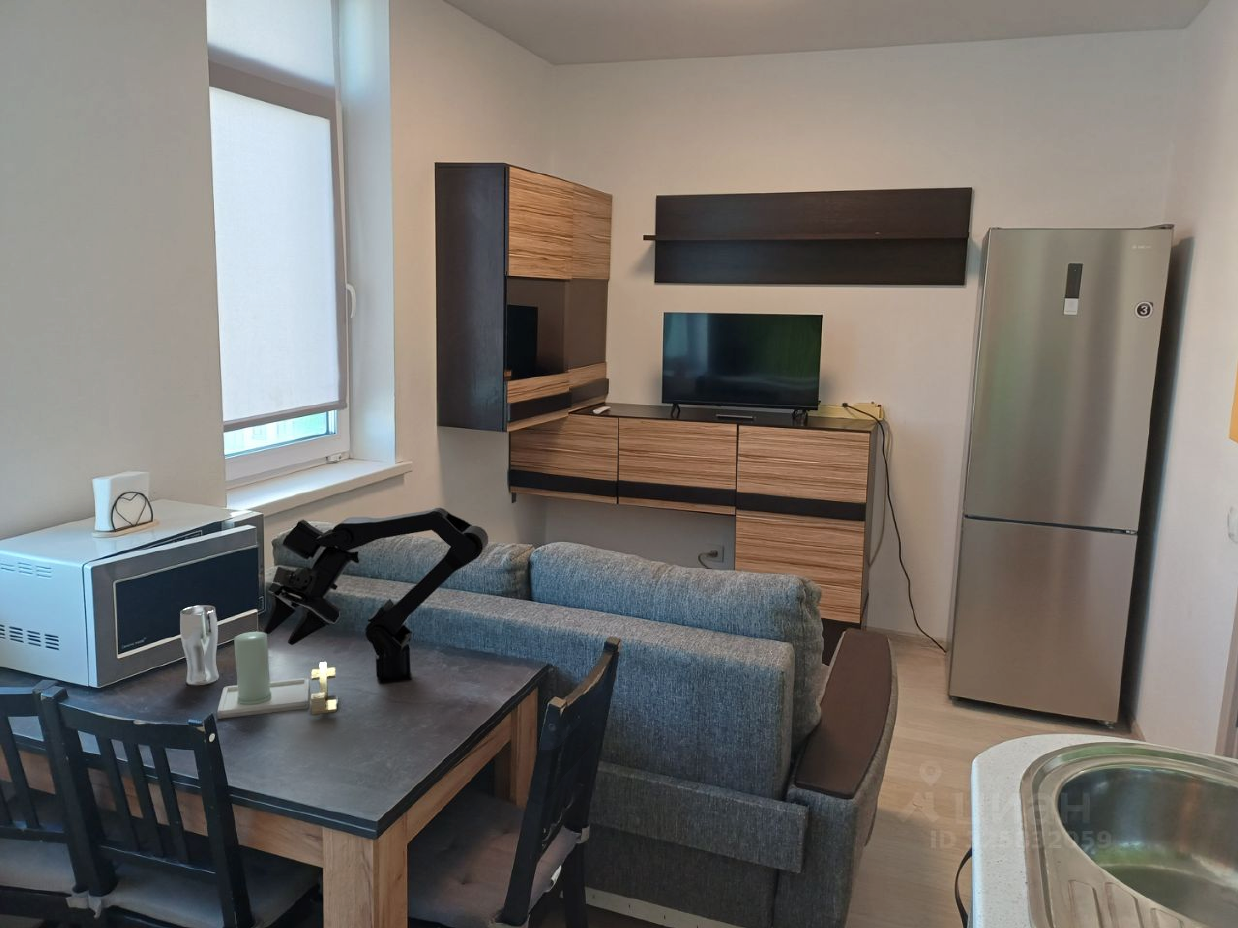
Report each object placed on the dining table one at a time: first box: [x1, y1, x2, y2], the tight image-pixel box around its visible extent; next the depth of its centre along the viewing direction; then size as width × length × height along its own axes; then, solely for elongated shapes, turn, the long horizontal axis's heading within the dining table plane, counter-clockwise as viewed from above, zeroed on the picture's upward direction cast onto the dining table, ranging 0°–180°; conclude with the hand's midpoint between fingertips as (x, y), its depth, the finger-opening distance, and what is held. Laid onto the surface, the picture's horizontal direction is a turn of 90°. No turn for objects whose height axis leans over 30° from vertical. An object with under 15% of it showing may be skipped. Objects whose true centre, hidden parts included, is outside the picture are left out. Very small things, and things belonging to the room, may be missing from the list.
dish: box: [217, 677, 310, 720], centre depth 178 cm, size 16×12×2 cm
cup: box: [234, 631, 272, 705], centre depth 177 cm, size 6×6×12 cm
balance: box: [310, 661, 339, 715], centre depth 175 cm, size 5×15×7 cm, turn 18°
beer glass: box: [179, 604, 220, 686], centre depth 187 cm, size 7×7×15 cm
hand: (277, 638), depth 180 cm, fingers open, 9 cm apart
